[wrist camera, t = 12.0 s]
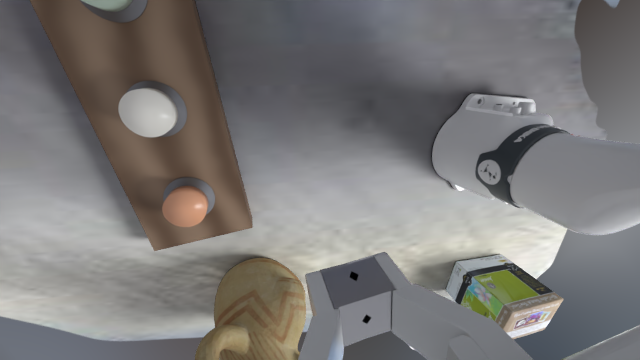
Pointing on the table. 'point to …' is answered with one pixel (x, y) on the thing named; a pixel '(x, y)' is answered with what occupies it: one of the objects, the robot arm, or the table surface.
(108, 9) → the button sage
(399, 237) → the table surface
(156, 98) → the button cream
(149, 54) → the button panel
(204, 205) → the button terracotta
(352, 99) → the table surface
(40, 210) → the table surface
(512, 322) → the tea box
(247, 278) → the ceramic vessel
